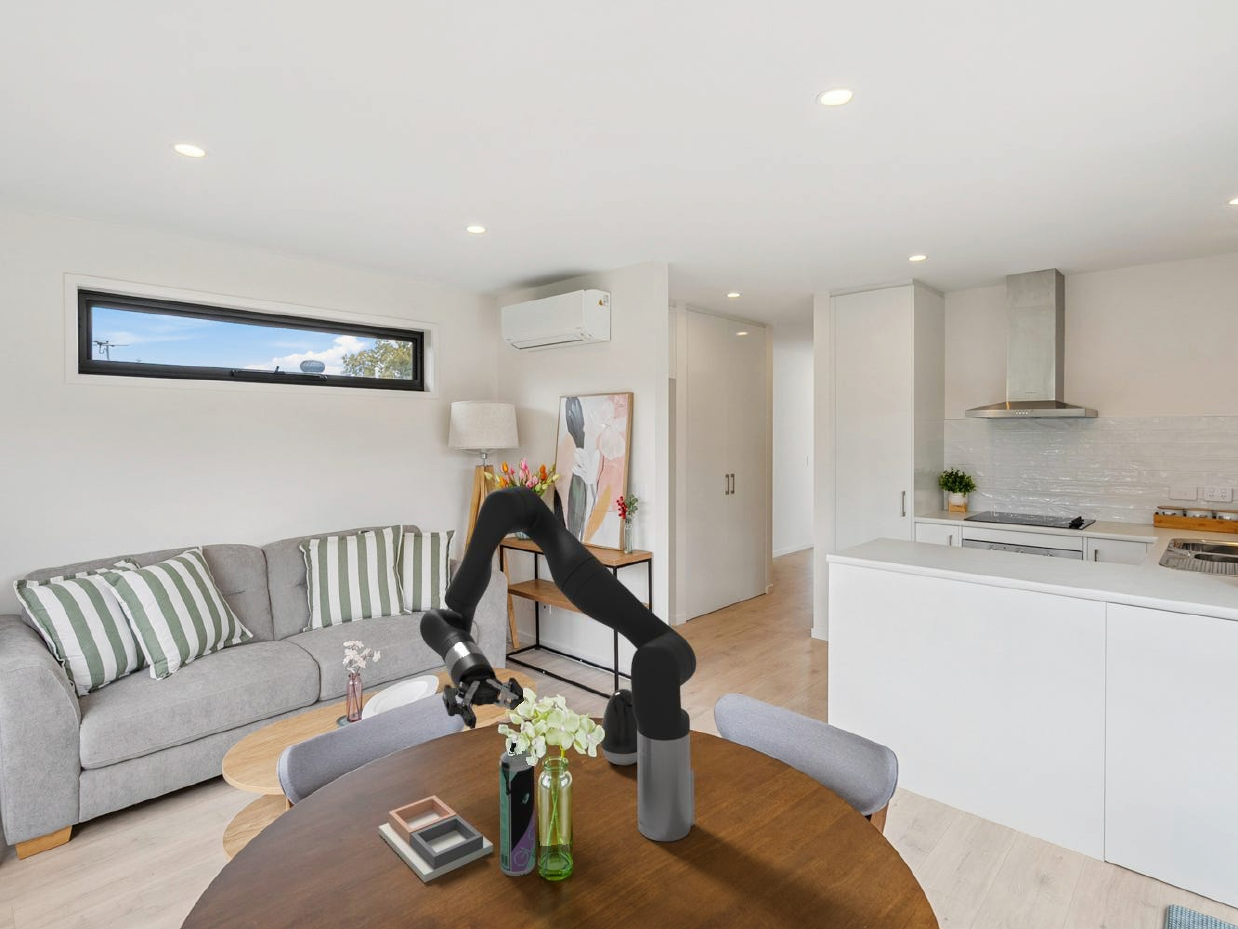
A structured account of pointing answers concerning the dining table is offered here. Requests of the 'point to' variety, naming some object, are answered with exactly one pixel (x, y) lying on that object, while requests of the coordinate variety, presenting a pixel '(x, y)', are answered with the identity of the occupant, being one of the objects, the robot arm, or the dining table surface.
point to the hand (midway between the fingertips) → (497, 721)
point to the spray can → (517, 813)
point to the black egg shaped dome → (620, 729)
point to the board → (433, 838)
